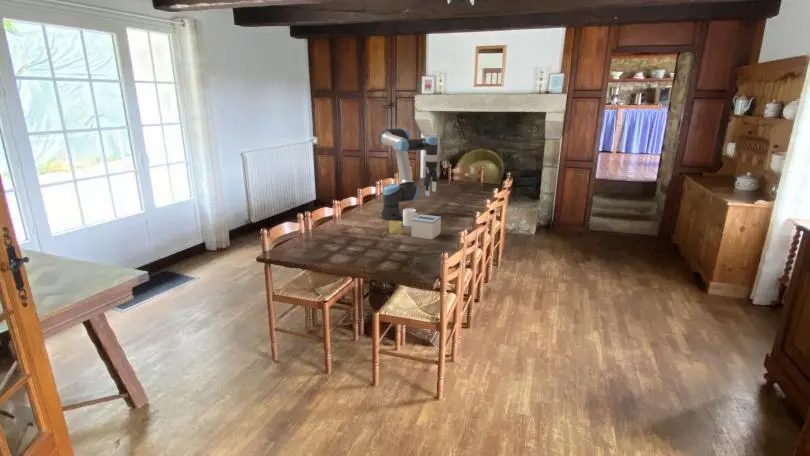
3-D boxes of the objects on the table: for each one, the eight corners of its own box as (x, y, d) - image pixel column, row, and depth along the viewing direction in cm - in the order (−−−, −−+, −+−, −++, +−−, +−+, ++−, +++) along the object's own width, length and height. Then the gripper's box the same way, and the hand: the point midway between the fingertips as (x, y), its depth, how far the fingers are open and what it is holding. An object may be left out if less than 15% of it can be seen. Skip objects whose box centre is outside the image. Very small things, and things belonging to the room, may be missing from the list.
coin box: (411, 236, 269) (411, 219, 266) (420, 230, 281) (420, 214, 278) (432, 239, 264) (432, 222, 260) (440, 233, 276) (440, 216, 273)
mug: (416, 228, 286) (416, 212, 283) (400, 225, 292) (400, 210, 289) (422, 225, 293) (422, 209, 290) (406, 222, 299) (406, 207, 296)
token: (389, 232, 277) (389, 220, 274) (391, 231, 279) (390, 219, 276) (400, 234, 273) (400, 222, 271) (402, 233, 276) (402, 221, 273)
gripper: (430, 164, 265) (430, 197, 271) (442, 158, 287) (441, 190, 293) (419, 163, 268) (418, 196, 274) (432, 158, 290) (431, 189, 296)
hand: (430, 193), depth 284 cm, fingers open, 13 cm apart
